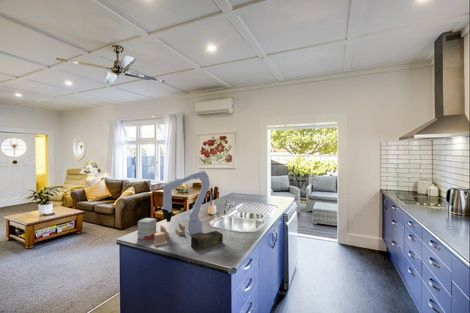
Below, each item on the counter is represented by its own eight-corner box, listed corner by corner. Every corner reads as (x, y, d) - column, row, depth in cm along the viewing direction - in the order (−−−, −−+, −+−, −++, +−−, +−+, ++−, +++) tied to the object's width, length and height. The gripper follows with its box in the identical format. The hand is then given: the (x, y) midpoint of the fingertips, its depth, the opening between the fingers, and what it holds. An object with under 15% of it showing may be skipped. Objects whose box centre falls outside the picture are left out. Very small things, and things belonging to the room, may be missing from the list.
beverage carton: (223, 243, 141) (223, 232, 141) (197, 251, 128) (197, 240, 128) (215, 239, 147) (215, 229, 147) (190, 247, 134) (190, 236, 134)
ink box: (156, 235, 151) (156, 218, 151) (148, 240, 143) (148, 222, 143) (145, 234, 154) (145, 217, 153) (137, 238, 145) (137, 220, 145)
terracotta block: (164, 239, 143) (164, 231, 143) (165, 241, 140) (165, 233, 140) (154, 241, 140) (154, 233, 140) (155, 243, 137) (155, 235, 137)
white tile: (164, 239, 145) (164, 238, 145) (167, 243, 139) (167, 242, 139) (153, 241, 141) (153, 240, 141) (155, 245, 135) (155, 244, 135)
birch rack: (180, 230, 162) (180, 222, 162) (184, 235, 153) (184, 226, 153) (160, 233, 155) (160, 225, 155) (163, 238, 146) (164, 229, 146)
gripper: (159, 199, 159) (158, 218, 159) (164, 203, 146) (163, 224, 147) (169, 198, 162) (168, 217, 163) (174, 202, 150) (174, 222, 150)
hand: (167, 220), depth 155 cm, fingers open, 7 cm apart
